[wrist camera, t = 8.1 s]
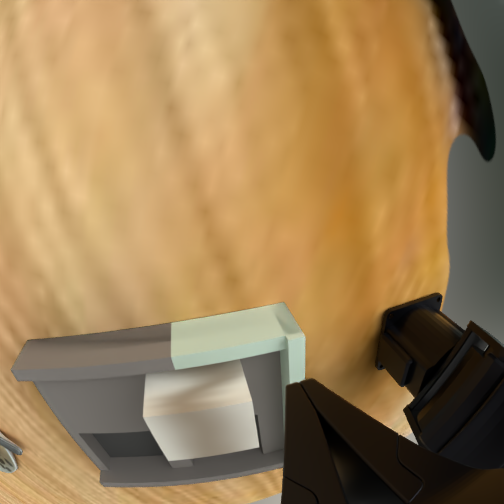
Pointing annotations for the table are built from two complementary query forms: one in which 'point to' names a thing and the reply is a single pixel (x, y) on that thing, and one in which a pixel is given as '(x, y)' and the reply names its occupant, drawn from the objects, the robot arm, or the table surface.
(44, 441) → the table surface
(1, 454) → the salad plate
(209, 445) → the cream block
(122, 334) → the box
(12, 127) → the table surface
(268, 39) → the table surface
